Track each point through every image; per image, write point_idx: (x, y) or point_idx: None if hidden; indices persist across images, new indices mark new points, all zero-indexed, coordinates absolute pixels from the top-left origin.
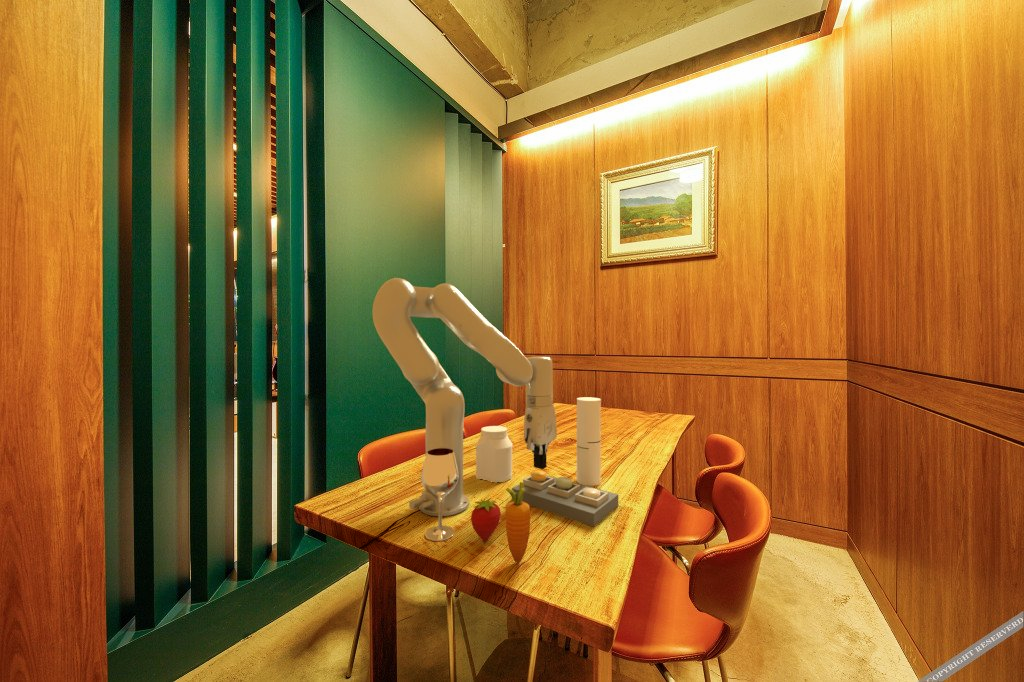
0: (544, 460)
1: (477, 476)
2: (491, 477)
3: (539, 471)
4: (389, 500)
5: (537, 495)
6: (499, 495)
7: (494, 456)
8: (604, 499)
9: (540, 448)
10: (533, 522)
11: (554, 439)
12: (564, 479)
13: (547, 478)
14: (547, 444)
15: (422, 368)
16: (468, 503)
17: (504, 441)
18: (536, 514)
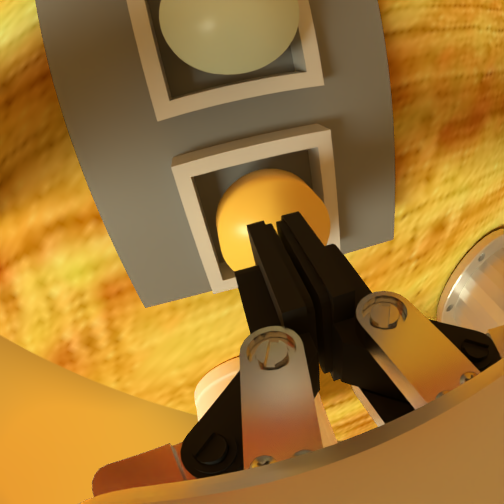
0: (289, 260)
1: (319, 394)
2: None
3: (248, 258)
4: None
5: (384, 92)
6: (368, 268)
7: (329, 438)
8: None
9: (440, 346)
10: (442, 25)
11: (132, 501)
12: (221, 12)
13: (198, 204)
14: (254, 432)
15: None
16: (474, 253)
17: None
18: (400, 49)
